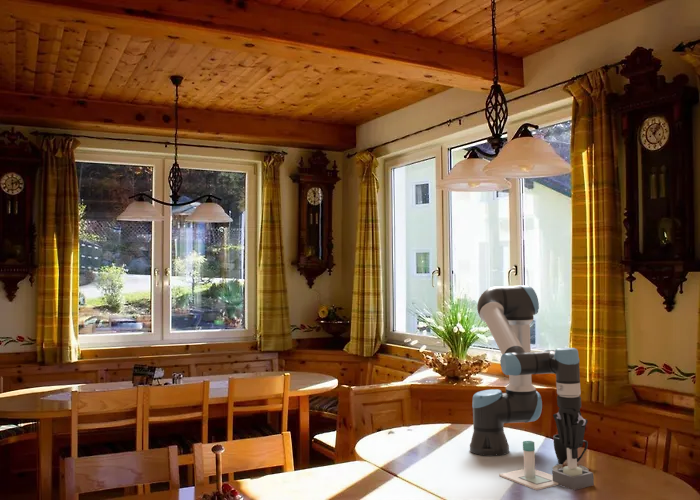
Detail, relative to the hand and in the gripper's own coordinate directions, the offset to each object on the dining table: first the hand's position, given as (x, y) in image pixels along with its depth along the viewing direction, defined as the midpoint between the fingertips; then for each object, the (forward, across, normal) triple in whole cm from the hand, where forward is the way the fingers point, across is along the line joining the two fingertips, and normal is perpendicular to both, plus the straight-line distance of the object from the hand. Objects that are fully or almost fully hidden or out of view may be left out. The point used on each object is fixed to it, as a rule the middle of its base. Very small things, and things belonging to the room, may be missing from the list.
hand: (572, 467), depth 212 cm
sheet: (+5, -11, -7) cm, 14 cm away
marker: (+5, -12, -8) cm, 15 cm away
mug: (+5, -17, +17) cm, 25 cm away
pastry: (+6, -11, +10) cm, 16 cm away
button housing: (+5, 0, 0) cm, 5 cm away
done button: (+4, 0, 0) cm, 4 cm away
